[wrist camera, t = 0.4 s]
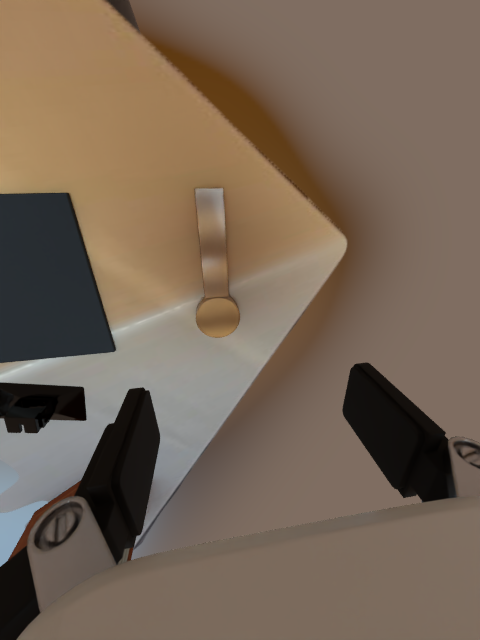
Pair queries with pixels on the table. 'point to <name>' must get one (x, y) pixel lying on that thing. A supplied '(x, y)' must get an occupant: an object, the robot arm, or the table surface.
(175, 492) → the table surface
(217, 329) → the wooden disc with bar
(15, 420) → the black block on plate
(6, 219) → the mat
